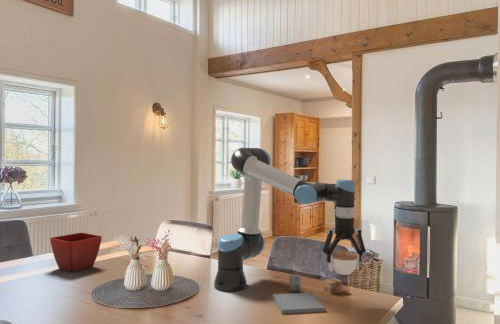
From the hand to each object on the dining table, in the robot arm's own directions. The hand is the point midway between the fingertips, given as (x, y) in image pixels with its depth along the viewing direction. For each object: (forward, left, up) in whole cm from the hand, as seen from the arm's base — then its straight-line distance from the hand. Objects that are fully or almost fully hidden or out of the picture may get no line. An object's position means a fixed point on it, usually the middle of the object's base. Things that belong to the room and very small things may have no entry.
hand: (343, 269), depth 159 cm
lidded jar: (0, 0, -1) cm, 1 cm away
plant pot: (-125, +67, -14) cm, 142 cm away
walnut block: (0, +13, -14) cm, 19 cm away
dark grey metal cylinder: (-17, +15, -13) cm, 26 cm away
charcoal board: (-20, 0, -13) cm, 24 cm away
